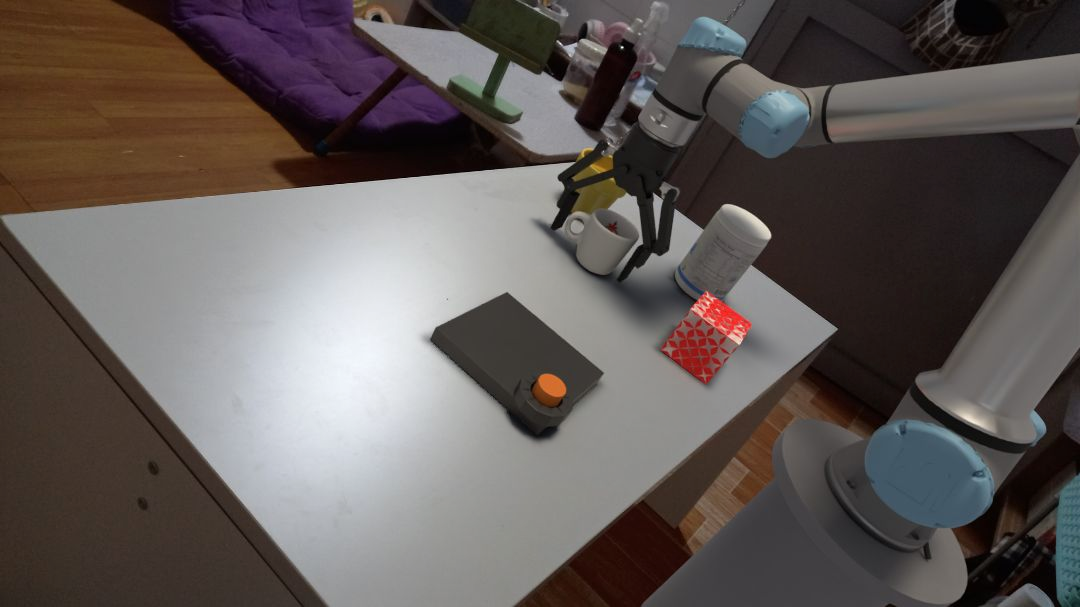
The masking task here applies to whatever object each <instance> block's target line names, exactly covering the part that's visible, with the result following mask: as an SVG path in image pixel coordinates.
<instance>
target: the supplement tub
mask: <svg viewBox="0 0 1080 607" xmlns="http://www.w3.org/2000/svg"><path fill="white" fill-rule="evenodd" d="M771 239H772V233H771V231H770V229H769V228H768V226H767V225H766V224H765V223H764V222H763V221H762V220H760V219H759V218H758V217H757V216H756V215H754V214H753V213H751V212H749V211H748V210H746V209H744V208H742V207H740V206H737V205H734V204H729V203H726V204H723V205H721V206H720V208H719V209H718V210H717V211H716V212H715V214H714V215H713V216H712V218H711V220H709V222H708V223H707V225H706V226H705V228H704V229H703V230H702V231H701V234H700V235H699V236H698V238H697V239H696V240H695V242H694V243H693V245H692V246H691V248H690V249H689V250H688V252H687V253H686V255H685V256H684V258H683V259H682V260H681V262H680V263H679V265H678V266H677V267H676V269H675V271H674V278H675V280H676V284H678V286H679V287H680V288H681V290H682V291H684V293H686V294H687V295H688V296H690V298H692V299H694V300H695V301H696V302H697V301H698V300H699V299H700V297H701V296H702V295H703V294H704V293H705V292H706V291H707V292H709V293H710V294H712V295H713V296H714V297H716V298H717V299H718V300H720V301H721V302H723V301H724V300H725V299H726V298H727V296H728V294H729V293H730V292H731V291H732V289H733V288H734V287H735V286H736V285H737V283H738V282H739V281H740V279H741V278H742V277H743V276H744V274H745V273H746V272H747V271H748V269H749V268H750V267H751V266H752V264H753V263H754V262H755V261H756V259H757V258H758V257H759V256H760V254H761V253H762V252H763V250H765V248H766V247H767V245H768V243H769V241H770V240H771Z"/></svg>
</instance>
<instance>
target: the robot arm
mask: <svg viewBox="0 0 1080 607" xmlns="http://www.w3.org/2000/svg"><path fill="white" fill-rule="evenodd" d="M746 49H747V41H746V39H745V38H744V37H742V36H741V35H740V34H739V33H737V32H736V31H734V30H733V29H731V28H730V27H728V26H726V25H724V24H723V23H721V22H719V21H717V20H715V19H713V18H710V17H708V16H700V17H697V18H696V19H694V21H693V22H692V23H691V25H690V27H689V28H688V30H687V31H686V32H685V34H684V36H683V37H682V39H681V41H680V42H679V43H678V44H677V45H676V49H675V50H674V53H673V55H672V56H671V58H670V60H669V62H668V64H667V66H666V68H665V69H664V71H663V73H662V74H661V77H660V79H659V80H658V83H657V84H656V86H654V89H653V90H652V92H651V94H650V95H649V97H648V99H647V100H646V102H645V104H644V105H643V107H642V109H641V111H640V113H639V114H638V117H637V119H638V121H637V122H635V123H633V124H632V126H631V128H630V130H629V132H628V133H627V135H626V137H625V139H624V140H623V142H622V144H621V146H620V147H619V148H618V147H617V145H616V144H614V140H613V139H612V138H611V137H607V138H603V139H600V140H598V142H597V144H596V145H595V146H594V148H593V149H594V150H593V151H591V152H590V153H589V154H587V155H586V156H584V157H583V158H581V159H580V160H579V161H577V162H576V161H575V162H576V163H575V162H574V163H573V164H571V165H570V166H569V167H567V168H565V169H564V170H563V171H562V172H560V173H559V174H557V181H559V182H560V183H561V184H562V185H563V190H562V193H561V194H560V197H559V198H558V200H557V202H556V208H558V209H559V210H558V212H557V214H556V216H555V217H554V219H553V220H552V223H551V224H550V226H549V229H550V230H552V231H553V232H554V231H557V230H560V229H562V228H563V226H564V225H565V224H566V221H567V219H568V218H569V216H570V215H571V214H570V213H572V212H571V210H572V208H573V206H574V205H575V203H576V201H577V199H578V197H579V196H580V193H578V192H577V191H576V190H577V189H580V188H583V187H586V186H589V185H592V184H595V183H598V182H601V181H604V180H607V179H610V178H614V181H615V183H616V184H615V185H617V186H618V187H620V188H622V189H624V190H625V191H626V192H627V193H626V194H628V196H630V197H635V198H636V205H637V206H638V212H639V220H640V230H641V238H642V243H641V244H640V245H638V246H637V247H636V249H635V250H634V251H633V253H632V255H630V258H629V259H628V260H627V262H626V264H624V266H623V268H622V270H621V271H620V273H619V274H618V276H617V278H616V279H615V281H616V282H618V283H619V284H621V283H622V282H624V281H625V280H627V279H628V278H629V276H630V275H631V273H632V272H633V270H634V269H635V268H636V269H637V270H639V269H640V268H642V267H643V266H645V265H646V263H647V262H648V260H649V258H650V257H651V255H652V254H655V255H656V256H657V257H661V256H664V255H666V253H668V252H670V247H671V240H672V231H673V225H674V217H675V211H676V203H677V201H678V199H679V197H680V195H681V194H682V188H681V187H680V186H673V185H671V184H669V183H668V182H666V176H667V174H668V173H669V171H670V169H671V167H672V166H673V164H674V162H675V161H676V159H677V158H678V156H679V155H680V153H681V152H682V149H681V147H682V146H686V144H687V142H688V141H689V139H690V138H691V137H692V134H693V133H694V131H695V129H696V128H697V126H698V125H699V122H700V121H701V119H702V118H703V117H704V115H705V114H706V115H707V116H709V118H711V119H713V120H714V121H715V122H716V123H718V124H719V125H720V126H721V127H723V128H724V129H725V130H726V131H728V132H729V133H730V134H731V135H733V136H734V137H735V138H736V139H738V140H739V141H740V142H741V143H743V145H744V146H745V147H746V148H748V149H750V150H753V151H755V152H756V153H758V154H759V155H761V156H762V157H763V158H766V159H776V158H777V157H779V156H780V155H784V154H785V153H787V152H788V151H789V150H790V149H791V148H795V149H808V148H813V147H816V146H819V145H820V146H822V145H831V144H846V143H859V142H860V143H863V142H876V141H890V140H905V139H922V138H939V137H951V136H952V137H953V136H967V135H983V134H984V135H985V134H997V133H1013V132H1029V131H1044V130H1058V129H1073V132H1074V135H1075V138H1076V140H1077V143H1078V146H1079V147H1080V53H1073V54H1072V53H1071V54H1065V55H1057V56H1050V57H1048V56H1047V57H1042V58H1034V59H1024V60H1016V61H1009V62H1002V63H1001V62H1000V63H994V64H987V65H985V64H984V65H977V66H970V67H963V68H956V69H955V68H954V69H947V70H939V71H931V72H923V73H916V74H909V75H900V76H891V77H886V78H885V77H883V78H876V79H870V80H861V81H854V82H846V83H838V84H832V85H822V86H815V87H805V88H801V87H797V86H794V85H789V84H786V83H782V82H778V81H775V80H773V79H771V78H770V77H768V76H765V75H764V74H763V73H761V72H760V71H758V70H757V69H755V68H753V67H752V66H751V65H749V63H747V62H746V61H744V60H743V58H742V57H743V55H744V52H745V50H746ZM609 155H611V156H613V157H612V159H613V169H611V170H608V171H605V172H602V173H599V174H596V175H593V176H590V177H587V178H584V179H581V180H578V181H574V180H573V177H574V176H576V175H577V174H579V173H580V172H581V171H583V170H584V169H586V168H587V167H589V166H590V165H592V164H593V163H595V162H596V161H597V160H599V159H600V158H602V157H603V156H604V157H606V156H609ZM657 190H660V191H661V194H660V197H661V199H662V201H661V202H662V203H661V206H660V213H659V221H658V230H657V229H656V228H657V226H656V218H655V208H654V202H655V196H654V192H655V191H657ZM575 191H576V192H575ZM1079 349H1080V153H1078V155H1077V157H1076V159H1075V160H1074V161H1073V163H1072V164H1071V166H1070V167H1069V169H1068V171H1067V172H1066V174H1065V175H1064V177H1063V178H1062V180H1061V181H1060V183H1059V185H1058V186H1057V187H1056V190H1055V191H1054V192H1053V194H1052V195H1051V197H1050V199H1049V200H1048V202H1047V203H1046V205H1045V206H1044V208H1043V210H1042V211H1041V213H1040V214H1039V216H1038V217H1037V219H1036V220H1035V222H1034V223H1033V225H1032V226H1031V228H1030V230H1029V231H1028V232H1027V234H1026V236H1025V237H1024V239H1023V241H1022V242H1021V243H1020V245H1019V247H1018V248H1017V250H1016V251H1015V253H1014V254H1013V256H1012V258H1011V259H1010V261H1009V263H1007V265H1006V267H1005V268H1004V270H1003V272H1002V273H1001V275H1000V276H999V278H998V280H997V281H996V282H995V284H994V285H993V287H992V288H991V290H990V292H989V293H988V294H987V297H986V298H985V299H984V301H983V302H982V303H981V305H980V307H979V309H978V310H977V312H976V313H975V315H974V316H973V318H972V319H971V321H970V322H969V324H968V325H967V327H966V329H965V330H964V332H963V334H962V336H961V337H960V338H959V340H958V341H957V342H956V344H955V346H954V347H953V349H952V351H951V352H950V353H949V355H948V357H947V358H946V360H945V361H944V363H943V365H942V366H941V367H939V368H938V369H932V370H927V371H922V372H919V373H918V374H917V375H916V376H915V379H914V380H913V382H912V383H911V385H910V386H909V387H908V389H907V391H906V392H905V394H904V396H903V397H902V399H901V400H900V402H899V404H898V405H897V407H896V408H895V410H894V412H893V413H892V414H891V416H890V418H889V419H888V421H887V422H886V423H884V424H882V425H881V426H880V427H879V428H878V429H876V430H875V431H874V432H873V434H872V435H871V436H869V437H866V438H863V440H861V441H858V442H856V443H853V444H851V445H848V446H846V447H843V448H841V449H839V450H837V451H836V452H835V453H834V454H832V455H831V456H830V457H829V458H828V459H827V460H826V462H825V466H824V472H825V477H826V481H827V483H828V486H829V488H830V490H831V492H832V494H833V495H834V497H835V499H836V500H837V502H838V503H839V505H840V506H841V507H842V509H843V510H844V511H845V512H846V513H847V515H848V516H849V517H850V518H851V519H852V520H853V521H854V522H855V523H856V524H857V525H858V526H859V527H860V528H861V529H862V530H864V531H865V532H866V533H867V534H869V535H870V536H871V537H873V538H874V539H875V540H877V541H878V542H880V543H882V544H883V545H885V546H887V547H889V548H891V549H894V550H896V551H900V552H905V553H912V552H915V551H917V550H919V549H920V548H922V547H923V550H924V555H925V559H927V560H930V559H932V558H931V553H930V548H929V540H930V539H931V538H932V536H933V535H934V533H935V531H936V530H937V528H951V529H954V528H959V527H962V526H963V527H964V526H966V525H968V524H970V523H972V522H973V521H975V520H977V519H978V518H979V517H981V516H983V515H984V514H985V513H986V512H987V511H988V510H989V509H990V507H991V505H992V504H993V500H994V499H993V498H994V496H995V493H996V492H997V491H998V489H999V488H1000V486H1001V485H1002V484H1003V482H1004V481H1005V480H1006V478H1007V477H1008V476H1009V474H1011V472H1012V470H1013V469H1014V468H1015V467H1016V465H1017V464H1018V462H1019V461H1020V460H1021V458H1023V456H1024V454H1026V452H1027V451H1028V449H1029V448H1030V447H1031V448H1032V447H1035V446H1036V445H1037V442H1039V440H1041V439H1042V438H1043V437H1044V436H1045V435H1046V433H1047V426H1046V424H1045V422H1044V421H1043V419H1042V418H1041V417H1040V415H1039V414H1038V413H1037V412H1036V411H1035V409H1036V407H1037V406H1038V404H1040V402H1041V401H1042V399H1043V397H1044V396H1045V395H1046V394H1047V393H1048V391H1049V390H1050V389H1051V387H1052V386H1053V385H1054V383H1055V382H1056V380H1057V379H1058V377H1059V376H1060V374H1061V373H1062V372H1063V370H1064V369H1065V368H1066V367H1067V365H1068V364H1069V363H1070V361H1071V360H1072V359H1073V357H1074V356H1075V354H1076V353H1077V352H1078V351H1079Z"/></svg>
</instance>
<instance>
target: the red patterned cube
mask: <svg viewBox="0 0 1080 607" xmlns="http://www.w3.org/2000/svg"><path fill="white" fill-rule="evenodd" d="M752 326H753V323H752V322H750V321H749V320H748V319H746V318H745V317H743V316H742V315H741V314H740V313H738V312H737V311H735V310H734V309H732V308H731V307H730V306H728V305H727V304H725V303H724V302H723V301H722V302H721V301H720V300H718V299H717V298H716V297H714V296H713V295H712V294H710V293H709V292H707V291H706V292H705V293H704V294H703V295H702V296H701V297H700V299H699V300H698V301H697V300H696V302H695V303H694V304H693V305H692V306H691V308H690V309H689V310H688V311H687V313H686V314H685V316H684V317H683V318H682V320H681V321H680V322H679V324H678V325H677V326H676V328H674V330H673V331H672V333H671V334H670V336H668V338H667V340H666V341H665V342H664V344H663V345H662V346H661V347H660V349H659V351H661V352H662V353H664V354H665V355H666V356H667V357H669V358H670V359H672V360H673V361H674V362H676V363H677V364H678V365H679V366H681V367H682V368H683V369H685V370H686V371H687V372H688V373H690V374H692V375H693V376H694V377H695V378H697V380H699V381H701V382H702V383H703V384H705V385H707V384H708V383H709V382H710V381H711V380H712V379H713V377H714V376H715V375H716V374H717V373H718V372H719V370H720V369H722V367H723V366H724V364H725V363H726V362H727V361H728V360H729V358H730V357H731V356H732V355H733V354H734V353H735V352H736V350H738V348H739V346H740V345H741V343H742V341H743V340H744V338H745V337H746V335H747V333H748V332H749V330H750V329H751V327H752Z"/></svg>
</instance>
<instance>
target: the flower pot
mask: <svg viewBox="0 0 1080 607" xmlns="http://www.w3.org/2000/svg"><path fill="white" fill-rule="evenodd" d="M593 150H594V148H590V147H587V148H584V149H582V150H581V151H580V153H579V154H578V157H576V158H577V159H576V160H575V162H574V163H576V162H577V161H579V160H580V159H581V158H583V157H584V156H586V155H587V154H589V153H590V152H591V151H593ZM612 157H613V155H611V154H610V155H609V156H606V157H604V156H603V157H602V158H600V159H599V160H597V161H596V162H595V163H593V164H592V165H590V166H589V167H587V168H586V169H584V170H583V171H581V172H580V173H579V174H577V175H576V176H574V177H573V180H574V181H578V180H581V179H584V178H587V177H590V176H593V175H596V174H599V173H602V172H605V171H608V170H611V169H613V159H612ZM615 184H616V183H615V181H614V178H610V179H607V180H604V181H601V182H598V183H595V184H592V185H589V186H586V187H583V188H580V189H577V190H576V191H577V192H578V193H580V196H579V197H578V199H577V201H576V203H575V205H574V206H573V208H572V210H571V212H570V213H571V214H572V213H574V212H577V211H580V212H585V213H587V214H592V213H593V211H594V210H596V209H608V210H609V209H610V207H611V206H613V204H614V203H615V202H616V201H617V200H618V199H622V198H623V197H625V196H626V195H627V194H628V193H627V192H626V191H625V190H624V189H622V188H620V187H618V186H617V185H615ZM576 191H575V192H576Z"/></svg>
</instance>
